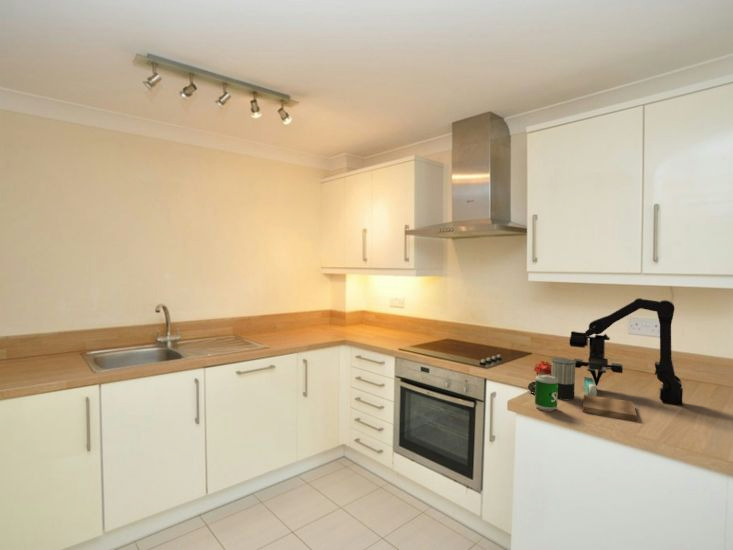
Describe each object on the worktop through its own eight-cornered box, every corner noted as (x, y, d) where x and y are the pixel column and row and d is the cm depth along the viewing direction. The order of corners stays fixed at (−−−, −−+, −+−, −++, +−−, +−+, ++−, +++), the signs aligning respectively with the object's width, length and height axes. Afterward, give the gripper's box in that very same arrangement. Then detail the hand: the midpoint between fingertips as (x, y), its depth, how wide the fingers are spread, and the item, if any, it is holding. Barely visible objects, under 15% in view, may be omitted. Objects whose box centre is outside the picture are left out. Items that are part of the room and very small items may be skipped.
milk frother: (580, 400, 156) (581, 362, 156) (543, 401, 154) (544, 363, 154) (557, 388, 170) (558, 354, 170) (523, 390, 168) (524, 355, 168)
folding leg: (597, 399, 156) (597, 386, 156) (588, 398, 158) (588, 385, 157) (591, 386, 173) (591, 375, 173) (583, 385, 174) (583, 374, 174)
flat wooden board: (632, 407, 149) (632, 401, 149) (636, 421, 135) (636, 415, 135) (583, 399, 157) (583, 394, 157) (582, 412, 143) (583, 406, 143)
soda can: (546, 413, 141) (547, 379, 141) (530, 406, 148) (531, 374, 148) (561, 410, 144) (562, 377, 144) (545, 403, 151) (545, 372, 151)
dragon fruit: (536, 377, 193) (554, 388, 182) (525, 368, 190) (543, 379, 179) (546, 363, 194) (565, 373, 183) (536, 354, 191) (554, 364, 180)
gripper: (570, 349, 169) (569, 386, 169) (622, 355, 159) (621, 394, 159) (573, 345, 178) (573, 380, 178) (622, 350, 168) (622, 387, 168)
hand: (596, 385), depth 171 cm, fingers closed
